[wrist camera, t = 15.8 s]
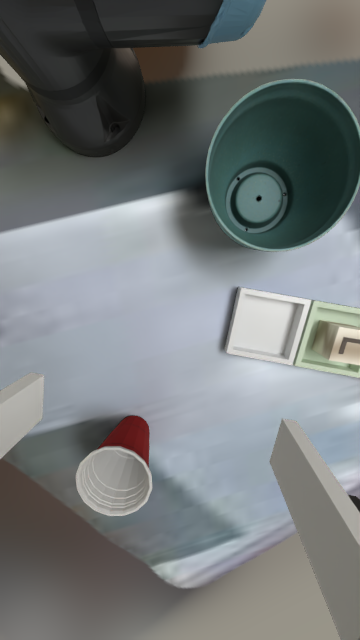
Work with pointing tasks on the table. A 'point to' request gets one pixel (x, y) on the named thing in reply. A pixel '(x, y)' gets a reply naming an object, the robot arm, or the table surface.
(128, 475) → the plastic cup
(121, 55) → the robot arm
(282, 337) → the box grey
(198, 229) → the table surface
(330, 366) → the box sage
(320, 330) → the letter cube
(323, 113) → the flower pot
